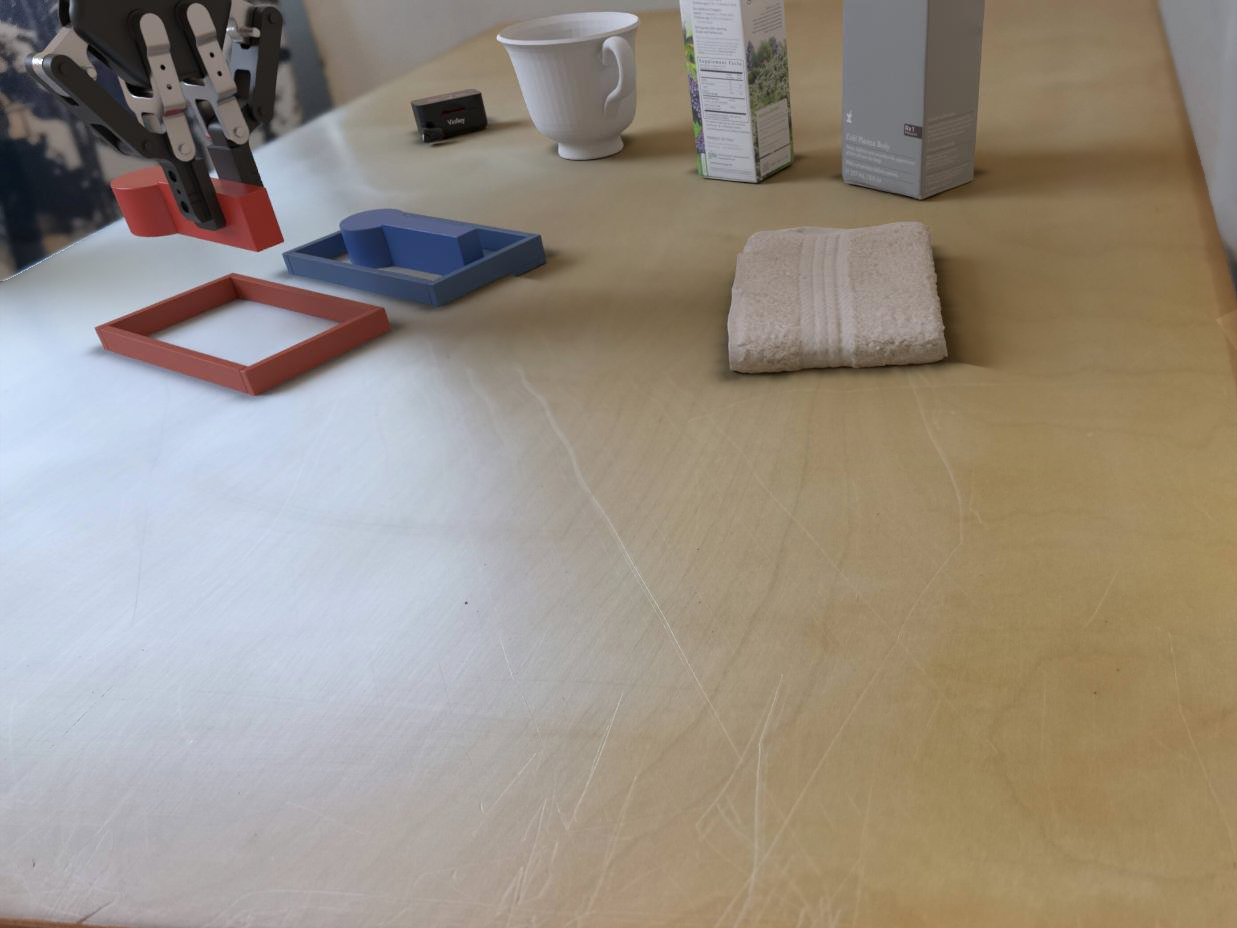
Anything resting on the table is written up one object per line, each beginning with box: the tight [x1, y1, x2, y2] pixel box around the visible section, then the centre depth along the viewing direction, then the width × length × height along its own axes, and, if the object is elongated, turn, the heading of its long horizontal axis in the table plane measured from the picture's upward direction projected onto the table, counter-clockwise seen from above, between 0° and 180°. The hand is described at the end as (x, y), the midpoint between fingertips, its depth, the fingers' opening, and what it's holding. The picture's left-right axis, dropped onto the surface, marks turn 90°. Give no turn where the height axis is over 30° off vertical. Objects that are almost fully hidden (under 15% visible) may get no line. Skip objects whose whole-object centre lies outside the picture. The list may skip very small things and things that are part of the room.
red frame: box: [94, 272, 392, 397], centre depth 69 cm, size 15×10×2 cm, turn 57°
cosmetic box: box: [841, 0, 986, 200], centre depth 81 cm, size 8×7×16 cm
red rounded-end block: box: [110, 165, 285, 253], centre depth 64 cm, size 12×4×3 cm, turn 57°
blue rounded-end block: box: [338, 208, 484, 277], centre depth 77 cm, size 12×4×3 cm, turn 57°
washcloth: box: [726, 221, 949, 374], centre depth 66 cm, size 12×18×3 cm, turn 0°
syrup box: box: [678, 0, 795, 184], centre depth 87 cm, size 6×6×14 cm
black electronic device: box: [410, 88, 489, 144], centre depth 107 cm, size 5×7×3 cm, turn 123°
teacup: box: [496, 11, 642, 161], centre depth 96 cm, size 12×15×10 cm
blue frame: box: [281, 211, 547, 308], centre depth 77 cm, size 15×10×2 cm, turn 57°
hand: (230, 219), depth 63 cm, fingers closed on red rounded-end block, 2 cm apart
